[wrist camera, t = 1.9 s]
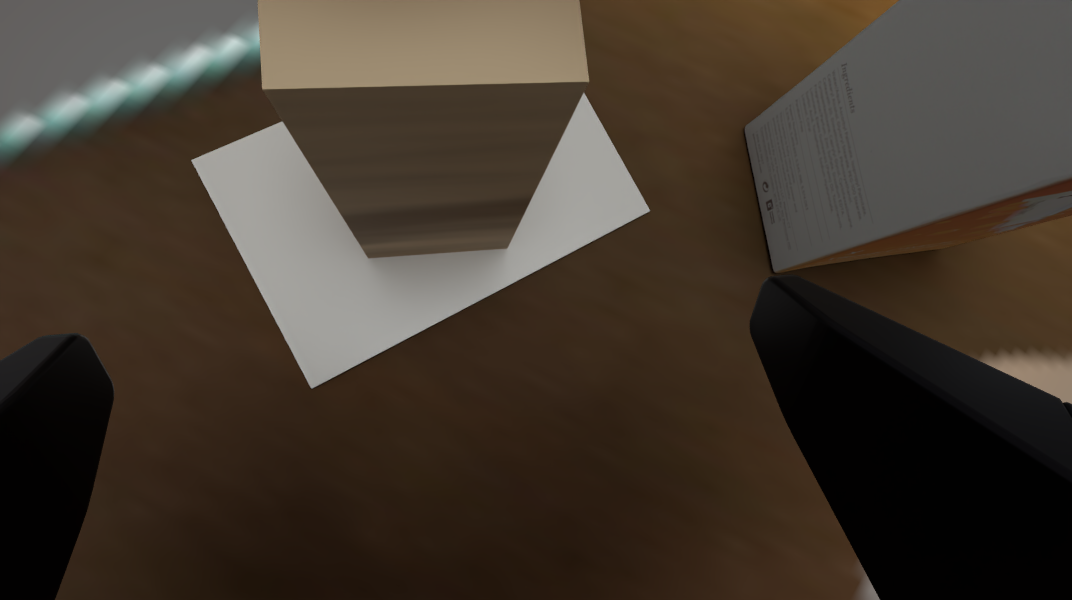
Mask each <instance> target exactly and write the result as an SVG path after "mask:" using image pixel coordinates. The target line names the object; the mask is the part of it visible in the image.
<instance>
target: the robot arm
mask: <svg viewBox="0 0 1072 600" xmlns="http://www.w3.org/2000/svg"><path fill="white" fill-rule="evenodd" d="M750 333H751V337H752V339H753V342H754V344H755V347H756V349H757V352H758V354H759V357H760V359H761V362H762V364H763V367H764V369H765V372H766V374H767V377H768V379H769V382H770V384H771V387H772V389H773V392H774V394H775V397H776V399H777V402H778V404H779V407H780V409H781V412H782V414H783V416H784V418H785V421H786V423H787V425H788V427H789V429H790V431H791V433H792V435H793V437H794V439H795V441H796V442H797V444H798V446H799V448H800V450H801V452H802V454H803V456H804V457H805V459H806V461H807V463H808V465H809V467H810V469H811V471H812V473H813V474H814V476H815V478H816V480H817V482H818V484H819V486H820V488H821V489H822V491H823V493H824V495H825V497H826V499H827V501H828V503H829V504H830V506H831V508H832V510H833V512H834V514H835V516H836V518H837V520H838V521H839V523H840V525H841V527H842V529H843V531H844V533H845V535H846V536H847V538H848V540H849V542H850V544H851V546H852V548H853V550H854V552H855V553H856V555H857V557H858V559H859V561H860V563H861V565H862V567H863V568H864V570H865V572H866V574H867V576H868V578H869V580H870V582H871V583H872V585H873V587H874V589H875V591H876V593H877V595H878V597H879V599H880V600H1072V404H1070V403H1068V402H1065V403H1062V401H1061V400H1060V399H1059V398H1057V397H1055V396H1053V395H1051V394H1049V393H1046V392H1044V391H1042V390H1040V389H1038V388H1036V387H1034V386H1032V385H1030V384H1027V383H1025V382H1023V381H1021V380H1019V379H1017V378H1014V377H1012V376H1010V375H1008V374H1006V373H1004V372H1002V371H1000V370H997V369H995V368H993V367H991V366H989V365H987V364H985V363H983V362H980V361H978V360H976V359H974V358H972V357H970V356H968V355H965V354H963V353H961V352H959V351H957V350H955V349H953V348H951V347H948V346H946V345H944V344H942V343H940V342H938V341H936V340H933V339H931V338H929V337H927V336H925V335H923V334H921V333H919V332H916V331H914V330H912V329H910V328H908V327H906V326H904V325H901V324H899V323H897V322H895V321H893V320H891V319H889V318H887V317H884V316H882V315H880V314H878V313H876V312H874V311H872V310H869V309H867V308H865V307H863V306H861V305H859V304H857V303H855V302H852V301H850V300H848V299H846V298H844V297H842V296H840V295H837V294H835V293H833V292H831V291H829V290H827V289H825V288H822V287H820V286H818V285H816V284H814V283H812V282H810V281H808V280H805V279H803V278H801V277H799V276H796V275H781V276H771V277H768V278H767V279H766V280H765V281H764V282H763V284H762V286H761V289H760V292H759V295H758V298H757V301H756V304H755V307H754V310H753V313H752V316H751V319H750ZM113 400H114V386H113V383H112V380H111V378H110V376H109V374H108V372H107V371H106V369H105V367H104V365H103V364H102V362H101V360H100V358H99V357H98V355H97V353H96V351H95V349H94V348H93V346H92V344H91V343H90V341H89V340H88V339H87V338H86V337H85V336H83V335H81V334H78V333H71V334H58V335H47V336H42V337H39V338H37V339H35V340H34V341H32V342H30V343H29V344H27V345H25V346H24V347H22V348H20V349H19V350H17V351H15V352H14V353H12V354H10V355H9V356H7V357H6V358H4V359H2V360H1V361H0V600H55V598H56V595H57V593H58V590H59V587H60V584H61V582H62V579H63V576H64V574H65V571H66V568H67V565H68V563H69V560H70V557H71V554H72V552H73V549H74V546H75V544H76V541H77V538H78V535H79V533H80V530H81V527H82V524H83V521H84V518H85V515H86V512H87V509H88V505H89V502H90V498H91V494H92V490H93V486H94V482H95V478H96V473H97V469H98V465H99V460H100V456H101V452H102V448H103V443H104V439H105V435H106V431H107V426H108V422H109V418H110V413H111V409H112V405H113Z"/></svg>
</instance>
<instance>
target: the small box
mask: <svg viewBox="0 0 1072 600" xmlns="http://www.w3.org/2000/svg"><path fill="white" fill-rule="evenodd" d="M745 136H746V140H747V146H748V151H749V156H750V160H751V166H752V171H753V175H754V180H755V185H756V190H757V195H758V200H759V205H760V210H761V214H762V219H763V224H764V229H765V233H766V238H767V242H768V247H769V252H770V257H771V262H772V267H773V270H774V272H775V273H782V272H787V271H791V270H796V269H801V268H807V267H813V266H819V265H826V264H833V263H840V262H847V261H853V260H859V259H867V258H874V257H882V256H889V255H897V254H905V253H913V252H921V251H928V250H938V249H944V248H948V247H952V246H956V245H960V244H963V243H967V242H971V241H974V240H978V239H982V238H986V237H990V236H994V235H998V234H1002V233H1006V232H1010V231H1014V230H1017V229H1021V228H1025V227H1029V226H1033V225H1036V224H1039V223H1043V222H1047V221H1051V220H1055V219H1059V218H1063V217H1067V216H1071V215H1072V0H899V1H898V2H897V3H896V4H894V5H893V6H892V7H891V8H890V9H888V10H887V11H886V12H885V13H884V14H882V15H881V16H880V17H879V18H877V19H876V20H875V21H874V22H873V23H871V24H870V25H869V26H868V27H866V28H865V29H864V30H863V31H862V32H860V33H859V34H858V35H857V36H856V37H854V38H853V39H852V40H851V41H850V42H849V43H847V44H846V45H845V46H844V47H842V48H841V49H840V50H839V51H838V52H836V53H835V54H834V55H833V56H832V57H830V58H829V59H828V60H827V61H826V62H824V63H823V64H822V65H821V66H819V67H818V68H817V69H816V70H815V71H813V72H812V73H811V74H810V75H809V76H807V77H806V78H805V79H804V80H802V81H801V82H800V83H799V84H797V85H796V86H795V87H794V88H793V89H791V90H790V91H789V92H788V93H786V94H785V95H784V96H782V97H781V98H780V99H778V100H777V101H776V102H775V103H774V104H773V105H771V106H770V107H769V108H768V109H766V110H765V111H764V112H763V113H762V114H760V115H759V116H758V117H757V118H755V119H754V120H753V121H752V122H750V123H749V124H748V125H746V127H745Z"/></svg>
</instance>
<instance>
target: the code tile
mask: <svg viewBox="0 0 1072 600" xmlns="http://www.w3.org/2000/svg"><path fill="white" fill-rule="evenodd" d="M191 161H192V163H193V164H194V166H195V168H196V170H197V172H198V174H199V176H200V178H201V180H202V182H203V183H204V185H205V187H206V189H207V191H208V193H209V195H210V197H211V199H212V201H213V203H214V204H215V206H216V208H217V210H218V212H219V214H220V216H221V218H222V220H223V222H224V223H225V225H226V227H227V229H228V231H229V233H230V235H231V237H232V239H233V241H234V242H235V244H236V246H237V248H238V250H239V252H240V254H241V256H242V258H243V260H244V262H245V263H246V265H247V267H248V269H249V271H250V273H251V275H252V277H253V279H254V281H255V282H256V284H257V286H258V288H259V290H260V292H261V294H262V296H263V298H264V300H265V301H266V303H267V305H268V307H269V309H270V311H271V313H272V315H273V317H274V319H275V321H276V322H277V324H278V326H279V328H280V330H281V332H282V334H283V336H284V338H285V340H286V341H287V343H288V345H289V347H290V349H291V351H292V353H293V355H294V357H295V359H296V360H297V362H298V364H299V366H300V368H301V370H302V372H303V374H304V376H305V378H306V380H307V381H308V383H309V385H310V387H311V389H313V388H315V387H317V386H319V385H321V384H322V383H324V382H326V381H328V380H330V379H332V378H334V377H336V376H338V375H340V374H341V373H343V372H345V371H347V370H349V369H351V368H353V367H355V366H357V365H359V364H361V363H362V362H364V361H366V360H368V359H370V358H372V357H374V356H376V355H378V354H380V353H381V352H383V351H385V350H387V349H389V348H391V347H393V346H395V345H397V344H399V343H400V342H402V341H404V340H406V339H408V338H410V337H412V336H414V335H416V334H418V333H420V332H421V331H423V330H425V329H427V328H429V327H431V326H433V325H435V324H437V323H439V322H440V321H442V320H444V319H446V318H448V317H450V316H452V315H454V314H456V313H458V312H459V311H461V310H463V309H465V308H467V307H469V306H471V305H473V304H475V303H477V302H479V301H480V300H482V299H484V298H486V297H488V296H490V295H492V294H494V293H496V292H498V291H499V290H501V289H503V288H505V287H507V286H509V285H511V284H513V283H515V282H517V281H518V280H520V279H522V278H524V277H526V276H528V275H530V274H532V273H534V272H536V271H538V270H539V269H541V268H543V267H545V266H547V265H549V264H551V263H553V262H555V261H557V260H558V259H560V258H562V257H564V256H566V255H568V254H570V253H572V252H574V251H576V250H577V249H579V248H581V247H583V246H585V245H587V244H589V243H591V242H593V241H595V240H597V239H598V238H600V237H602V236H604V235H606V234H608V233H610V232H612V231H614V230H616V229H617V228H619V227H621V226H623V225H625V224H627V223H629V222H631V221H633V220H635V219H636V218H638V217H640V216H642V215H644V214H646V213H648V212H649V211H650V210H649V208H648V206H647V204H646V203H645V201H644V199H643V197H642V195H641V194H640V192H639V190H638V188H637V187H636V185H635V183H634V181H633V179H632V178H631V176H630V174H629V172H628V170H627V169H626V167H625V165H624V163H623V162H622V160H621V158H620V156H619V154H618V153H617V151H616V149H615V147H614V146H613V144H612V142H611V140H610V138H609V137H608V135H607V133H606V131H605V129H604V128H603V126H602V124H601V122H600V121H599V119H598V117H597V115H596V113H595V112H594V110H593V108H592V106H591V105H590V103H589V101H588V99H587V97H586V96H585V94H584V93H583V95H582V97H581V99H580V101H579V103H578V105H577V107H576V109H575V111H574V113H573V115H572V117H571V120H570V122H569V124H568V126H567V128H566V130H565V132H564V134H563V136H562V138H561V140H560V142H559V144H558V146H557V148H556V150H555V152H554V154H553V156H552V158H551V160H550V162H549V165H548V167H547V169H546V171H545V173H544V175H543V177H542V179H541V181H540V183H539V185H538V187H537V189H536V191H535V193H534V195H533V197H532V199H531V201H530V203H529V205H528V207H527V209H526V212H525V214H524V216H523V218H522V220H521V222H520V224H519V226H518V228H517V230H516V232H515V234H514V236H513V238H512V240H511V242H510V244H509V246H508V248H507V249H494V250H480V251H466V252H451V253H437V254H423V255H409V256H395V257H380V258H368V257H367V256H366V254H365V253H364V251H363V249H362V248H361V246H360V245H359V243H358V241H357V240H356V238H355V237H354V235H353V233H352V232H351V230H350V229H349V227H348V225H347V224H346V222H345V221H344V219H343V217H342V216H341V214H340V213H339V211H338V209H337V208H336V206H335V205H334V203H333V201H332V200H331V198H330V197H329V195H328V193H327V192H326V190H325V189H324V187H323V185H322V184H321V182H320V181H319V179H318V177H317V176H316V174H315V173H314V171H313V169H312V168H311V166H310V165H309V163H308V161H307V160H306V158H305V157H304V155H303V153H302V152H301V150H300V149H299V147H298V145H297V144H296V142H295V141H294V139H293V137H292V136H291V134H290V133H289V131H288V129H287V128H286V126H285V125H284V123H283V121H282V122H280V123H278V124H275V125H273V126H271V127H268V128H266V129H263V130H261V131H259V132H256V133H254V134H252V135H249V136H247V137H245V138H242V139H240V140H238V141H235V142H233V143H231V144H228V145H226V146H224V147H221V148H219V149H216V150H214V151H212V152H209V153H207V154H205V155H202V156H200V157H198V158H195V159H193V160H191Z"/></svg>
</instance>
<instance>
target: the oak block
mask: <svg viewBox="0 0 1072 600" xmlns="http://www.w3.org/2000/svg"><path fill="white" fill-rule="evenodd" d="M258 16H259V34H260V53H261V72H262V89H263V91H264V93H265V94H266V96H267V97H268V99H269V101H270V102H271V104H272V105H273V107H274V109H275V110H276V112H277V113H278V115H279V117H280V118H281V120H282V121H283V123H284V125H285V126H286V128H287V129H288V131H289V133H290V134H291V136H292V137H293V139H294V141H295V142H296V144H297V145H298V147H299V149H300V150H301V152H302V153H303V155H304V157H305V158H306V160H307V161H308V163H309V165H310V166H311V168H312V169H313V171H314V173H315V174H316V176H317V177H318V179H319V181H320V182H321V184H322V185H323V187H324V189H325V190H326V192H327V193H328V195H329V197H330V198H331V200H332V201H333V203H334V205H335V206H336V208H337V209H338V211H339V213H340V214H341V216H342V217H343V219H344V221H345V222H346V224H347V225H348V227H349V229H350V230H351V232H352V233H353V235H354V237H355V238H356V240H357V241H358V243H359V245H360V246H361V248H362V249H363V251H364V253H365V254H366V256H367V257H368V258H380V257H395V256H409V255H423V254H437V253H451V252H466V251H480V250H494V249H507V248H508V246H509V244H510V242H511V240H512V238H513V236H514V234H515V232H516V230H517V228H518V226H519V224H520V222H521V220H522V218H523V216H524V214H525V212H526V209H527V207H528V205H529V203H530V201H531V199H532V197H533V195H534V193H535V191H536V189H537V187H538V185H539V183H540V181H541V179H542V177H543V175H544V173H545V171H546V169H547V167H548V165H549V162H550V160H551V158H552V156H553V154H554V152H555V150H556V148H557V146H558V144H559V142H560V140H561V138H562V136H563V134H564V132H565V130H566V128H567V126H568V124H569V122H570V120H571V117H572V115H573V113H574V111H575V109H576V107H577V105H578V103H579V101H580V99H581V97H582V95H583V93H584V91H585V89H586V87H587V85H588V83H589V77H588V69H587V60H586V52H585V44H584V36H583V27H582V19H581V11H580V3H579V0H258Z"/></svg>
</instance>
